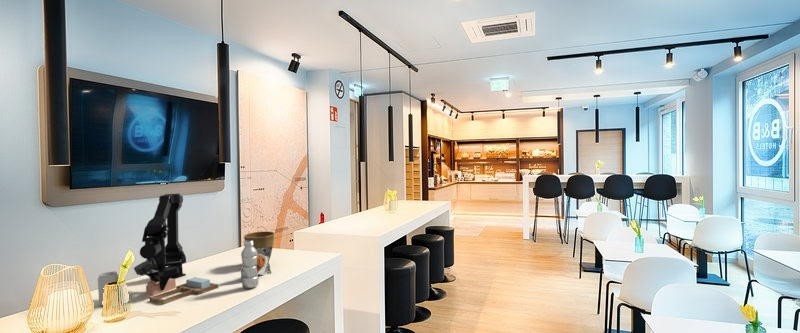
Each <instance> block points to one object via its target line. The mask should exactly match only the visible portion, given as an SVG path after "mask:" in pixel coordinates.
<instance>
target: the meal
mask: <svg viewBox="0 0 800 333" xmlns="http://www.w3.org/2000/svg"><path fill="white" fill-rule="evenodd" d="M271 249H272V250H273V248H272V247H267V248H261V249H256V250H257V252H258V255H257V265H256V266H257V276H258V277H260V276H264V275H265V274H272V270H271V265H270V262H269V263H268V259H269V257H270V255H271V256H272V253H271V251H270V250H271ZM270 258H271V257H270ZM240 266H241V267H242V268H240V281H241V282H242V278H243V263H242V262H241V264H240Z"/></svg>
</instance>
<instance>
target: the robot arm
mask: <svg viewBox="0 0 800 333" xmlns="http://www.w3.org/2000/svg"><path fill="white" fill-rule="evenodd" d="M183 196H184V195H182V194H180V193H165V194H162V195H160V196H159V198H158V203H157V208H156V210H155V211H154V212H155V213H154V216H153V218H151V219H150V220H149V221H148V222H147V224H146V226H145V227H144V231H143V235H142V239H141V242H142V243H144V245H142V246H141V248H140V249H139V255H140V256H141V258H142V259H146V260H145V261H142V262H141V263H140V264H138V265H135V266H134V267H133V270H134V271H135V274H136V275H139V276H147V277H148V278H149V279H150V281H155V283H156V282H159V284H160V289H161V290H164V289H165V287H166V284H167V282H168V280H169V278H172V279H177V278H180V277H183V276H186V273H184V272H183V264H186V263H187V256H186V254H185V252H184V250H183V246H182V245H181V243H180V241H179V212H180V210H181V208H182V206H183V202H184V197H183ZM165 240H166V241H165ZM166 242H167V243H166Z"/></svg>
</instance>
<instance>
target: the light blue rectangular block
mask: <svg viewBox="0 0 800 333" xmlns="http://www.w3.org/2000/svg"><path fill="white" fill-rule="evenodd" d="M185 283H186V285H187V286H189V287H193V288H198V289H204V288H206V287H209V286H210V283H211V279H208V278H203V277H202V278H201V277H198V276H197V277H196V276H193V277H191V278H188V279H186V282H185Z"/></svg>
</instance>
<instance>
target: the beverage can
mask: <svg viewBox="0 0 800 333" xmlns="http://www.w3.org/2000/svg"><path fill="white" fill-rule="evenodd" d="M118 279H119V274H118V272H117V271H108V272H103V273H100V274H99V275H98V278H97V286H98V287H97V288H98V289H97V290H98V305H100V306H102V301H103V293H104V289H103V288H104V286H105V284H107V283H110V282H115V281H118Z"/></svg>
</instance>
